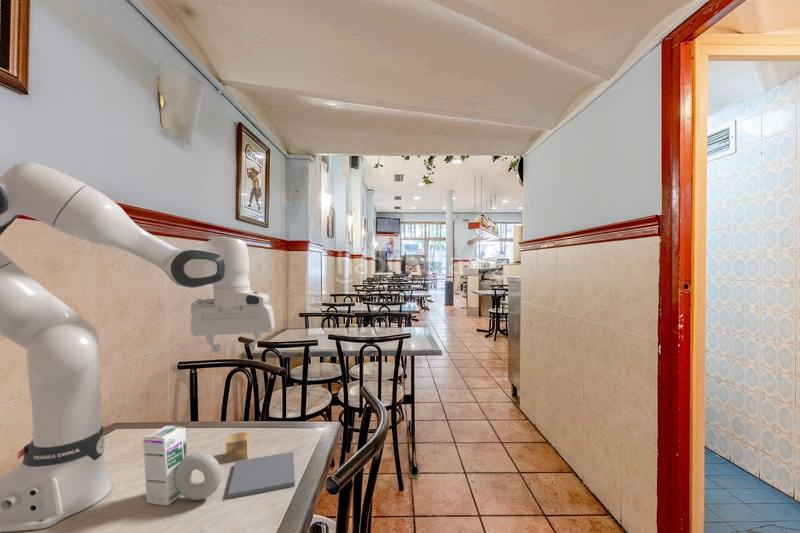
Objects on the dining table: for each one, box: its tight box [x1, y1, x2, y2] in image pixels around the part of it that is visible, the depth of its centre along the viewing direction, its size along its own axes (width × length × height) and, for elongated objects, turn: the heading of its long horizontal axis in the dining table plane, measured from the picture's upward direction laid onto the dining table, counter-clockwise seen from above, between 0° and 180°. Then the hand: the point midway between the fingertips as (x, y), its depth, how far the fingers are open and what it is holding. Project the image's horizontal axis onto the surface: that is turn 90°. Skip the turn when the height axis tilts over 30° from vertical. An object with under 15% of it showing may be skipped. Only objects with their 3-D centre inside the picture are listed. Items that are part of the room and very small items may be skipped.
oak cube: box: [225, 431, 250, 462], centre depth 98 cm, size 5×5×5 cm
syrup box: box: [142, 425, 188, 507], centre depth 81 cm, size 6×6×14 cm
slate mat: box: [227, 451, 296, 499], centre depth 89 cm, size 14×14×1 cm
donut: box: [174, 451, 223, 501], centre depth 80 cm, size 10×4×10 cm, turn 88°
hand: (234, 350), depth 96 cm, fingers open, 8 cm apart
